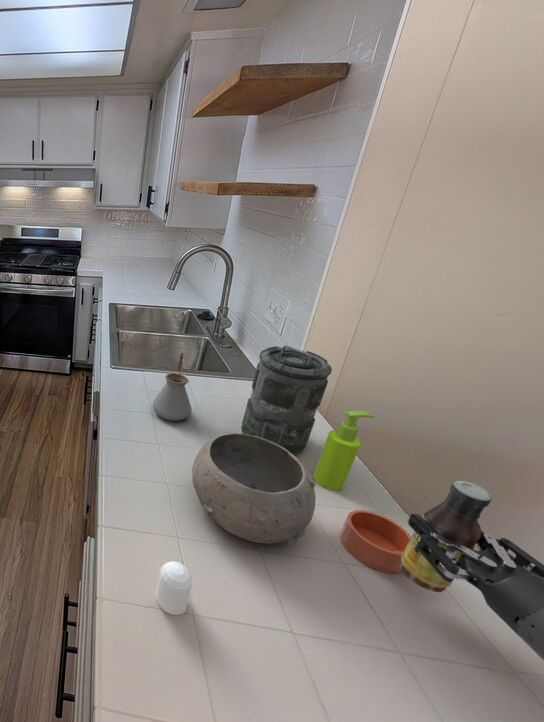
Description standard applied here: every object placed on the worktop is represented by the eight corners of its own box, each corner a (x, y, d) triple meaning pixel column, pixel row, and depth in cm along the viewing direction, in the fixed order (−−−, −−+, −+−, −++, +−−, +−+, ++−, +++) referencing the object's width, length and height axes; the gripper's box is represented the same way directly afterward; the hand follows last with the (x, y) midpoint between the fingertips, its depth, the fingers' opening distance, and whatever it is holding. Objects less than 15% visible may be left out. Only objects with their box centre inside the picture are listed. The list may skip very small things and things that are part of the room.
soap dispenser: (353, 490, 91) (383, 420, 83) (323, 490, 91) (351, 420, 83) (335, 473, 96) (362, 405, 88) (307, 472, 96) (332, 405, 88)
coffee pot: (188, 428, 113) (196, 384, 107) (148, 419, 118) (154, 376, 112) (193, 394, 131) (201, 354, 125) (159, 387, 135) (164, 348, 130)
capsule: (151, 585, 70) (156, 555, 67) (179, 583, 70) (186, 553, 67) (162, 616, 65) (168, 585, 62) (192, 614, 65) (200, 582, 62)
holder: (400, 542, 78) (409, 524, 76) (411, 583, 70) (422, 564, 68) (338, 519, 83) (345, 502, 81) (341, 555, 75) (350, 537, 73)
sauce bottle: (398, 553, 70) (443, 466, 62) (447, 577, 66) (501, 487, 58) (395, 577, 65) (442, 487, 58) (446, 604, 61) (505, 511, 54)
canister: (317, 447, 105) (350, 355, 94) (281, 465, 99) (311, 368, 88) (263, 417, 118) (286, 333, 107) (228, 431, 112) (249, 343, 101)
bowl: (169, 477, 95) (178, 427, 89) (257, 471, 97) (271, 422, 91) (220, 564, 74) (236, 506, 68) (330, 554, 75) (355, 497, 70)
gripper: (635, 611, 46) (489, 502, 62) (508, 605, 47) (396, 499, 62) (600, 648, 49) (469, 536, 65) (481, 642, 50) (380, 532, 65)
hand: (433, 518), depth 63 cm, fingers closed on sauce bottle, 6 cm apart
